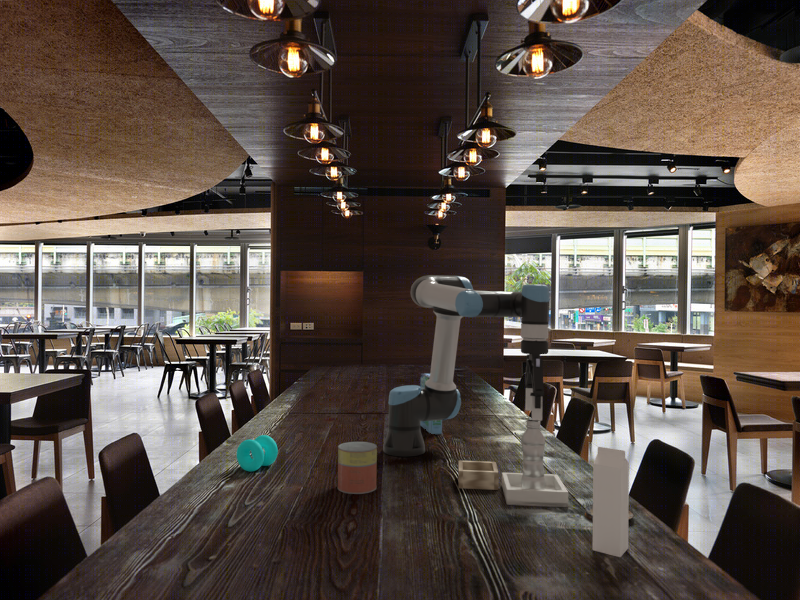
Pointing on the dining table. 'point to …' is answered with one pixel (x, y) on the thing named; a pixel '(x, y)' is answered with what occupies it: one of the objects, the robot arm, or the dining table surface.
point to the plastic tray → (534, 491)
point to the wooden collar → (478, 475)
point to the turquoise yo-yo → (257, 453)
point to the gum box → (434, 425)
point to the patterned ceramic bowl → (590, 513)
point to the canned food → (357, 467)
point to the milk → (610, 501)
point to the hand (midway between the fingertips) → (533, 415)
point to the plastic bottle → (533, 457)
